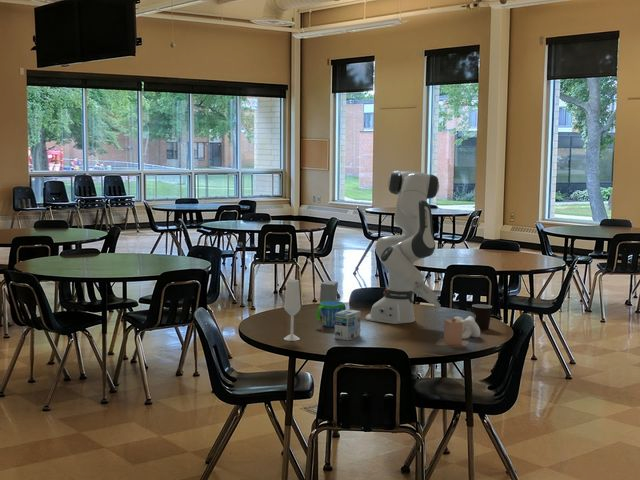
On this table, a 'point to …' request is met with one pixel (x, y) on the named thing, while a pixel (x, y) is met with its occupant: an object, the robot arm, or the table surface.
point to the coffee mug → (482, 315)
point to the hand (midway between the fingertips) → (435, 304)
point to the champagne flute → (292, 304)
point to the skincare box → (328, 291)
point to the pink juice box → (453, 331)
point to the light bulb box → (347, 324)
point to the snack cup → (329, 312)
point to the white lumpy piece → (469, 327)
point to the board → (442, 343)
